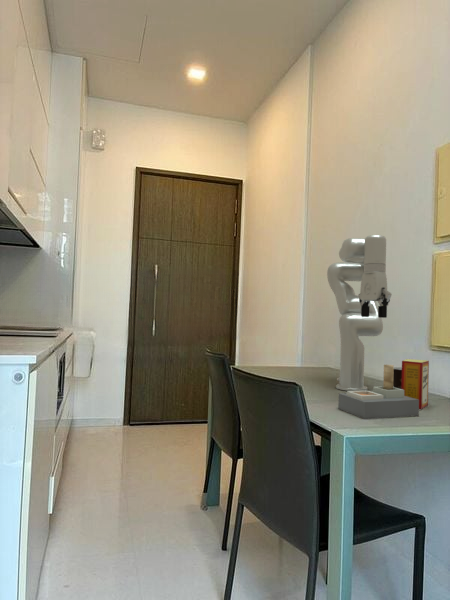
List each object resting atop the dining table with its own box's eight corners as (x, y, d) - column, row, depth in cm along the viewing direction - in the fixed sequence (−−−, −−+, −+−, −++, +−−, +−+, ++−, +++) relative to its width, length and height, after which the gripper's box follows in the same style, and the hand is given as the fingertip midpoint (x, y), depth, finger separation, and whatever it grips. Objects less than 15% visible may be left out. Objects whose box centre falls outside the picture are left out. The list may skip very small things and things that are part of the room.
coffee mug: (389, 394, 176) (390, 368, 176) (392, 391, 184) (393, 366, 184) (421, 397, 171) (422, 371, 171) (423, 394, 178) (423, 369, 179)
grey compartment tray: (338, 408, 147) (338, 385, 147) (388, 406, 153) (389, 384, 153) (364, 418, 133) (365, 393, 134) (418, 415, 140) (419, 391, 140)
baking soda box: (408, 402, 161) (409, 357, 161) (427, 405, 157) (428, 359, 157) (400, 406, 153) (401, 359, 154) (421, 409, 149) (422, 361, 150)
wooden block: (388, 395, 146) (389, 364, 147) (395, 396, 144) (395, 365, 144) (381, 395, 145) (381, 364, 146) (387, 397, 143) (388, 365, 143)
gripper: (351, 271, 168) (350, 316, 168) (381, 267, 152) (380, 317, 152) (368, 272, 171) (367, 316, 170) (399, 268, 154) (398, 318, 154)
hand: (373, 317), depth 161 cm, fingers open, 9 cm apart
